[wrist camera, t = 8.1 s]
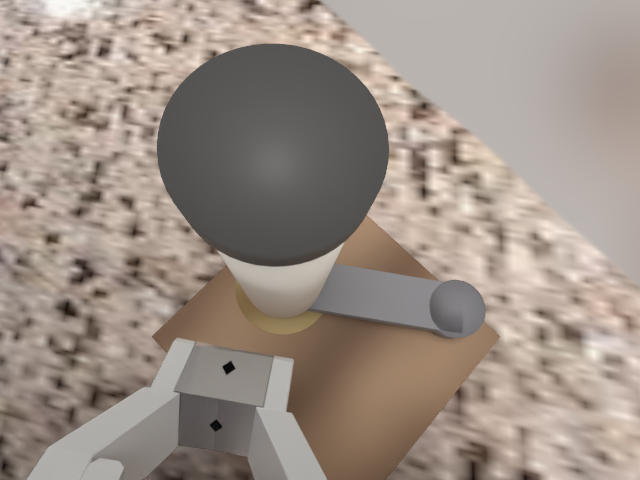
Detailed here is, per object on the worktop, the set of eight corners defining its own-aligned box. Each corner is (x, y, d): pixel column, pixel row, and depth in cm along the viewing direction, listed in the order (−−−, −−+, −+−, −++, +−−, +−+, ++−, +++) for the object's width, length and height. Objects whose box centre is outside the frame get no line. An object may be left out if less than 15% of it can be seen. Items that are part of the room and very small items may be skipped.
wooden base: (166, 338, 23) (150, 336, 20) (319, 191, 25) (322, 173, 23) (334, 515, 21) (341, 537, 19) (478, 338, 24) (502, 336, 21)
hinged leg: (477, 277, 22) (799, 137, 8) (472, 355, 21) (831, 350, 7) (252, 238, 21) (188, 26, 8) (235, 316, 20) (129, 231, 7)
